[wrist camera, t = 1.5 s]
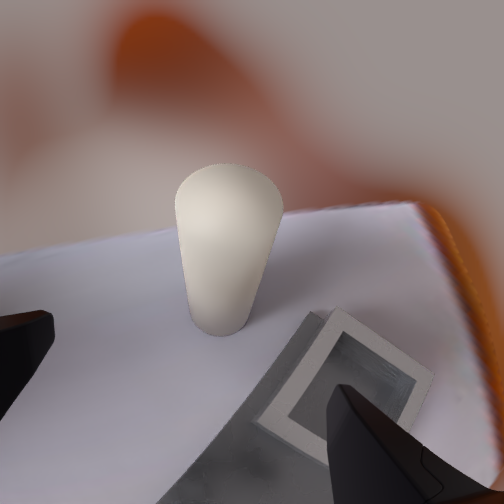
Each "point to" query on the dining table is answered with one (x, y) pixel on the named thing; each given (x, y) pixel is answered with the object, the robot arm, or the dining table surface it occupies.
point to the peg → (225, 242)
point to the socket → (301, 416)
